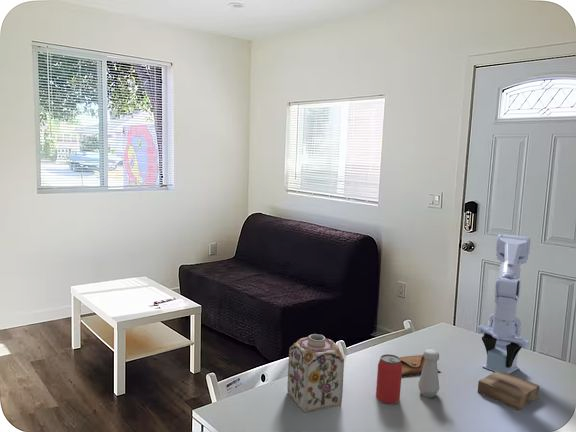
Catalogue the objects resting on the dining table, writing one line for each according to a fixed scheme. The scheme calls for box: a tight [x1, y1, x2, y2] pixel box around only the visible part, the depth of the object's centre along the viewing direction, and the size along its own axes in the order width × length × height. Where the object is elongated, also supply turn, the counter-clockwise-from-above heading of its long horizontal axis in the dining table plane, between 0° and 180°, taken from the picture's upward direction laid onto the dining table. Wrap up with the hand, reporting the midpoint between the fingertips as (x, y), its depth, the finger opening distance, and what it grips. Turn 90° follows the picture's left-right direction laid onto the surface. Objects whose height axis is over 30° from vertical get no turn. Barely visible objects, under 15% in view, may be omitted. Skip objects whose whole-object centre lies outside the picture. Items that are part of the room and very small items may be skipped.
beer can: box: [375, 353, 402, 405], centre depth 135 cm, size 7×7×12 cm
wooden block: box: [477, 371, 540, 411], centre depth 140 cm, size 12×12×4 cm
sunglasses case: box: [398, 353, 441, 378], centre depth 155 cm, size 18×7×7 cm, turn 110°
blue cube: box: [485, 347, 511, 374], centre depth 142 cm, size 5×5×5 cm
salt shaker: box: [418, 348, 440, 398], centre depth 138 cm, size 6×6×13 cm
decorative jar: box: [286, 333, 345, 413], centre depth 132 cm, size 12×12×18 cm
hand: (499, 363), depth 142 cm, fingers closed on blue cube, 5 cm apart
